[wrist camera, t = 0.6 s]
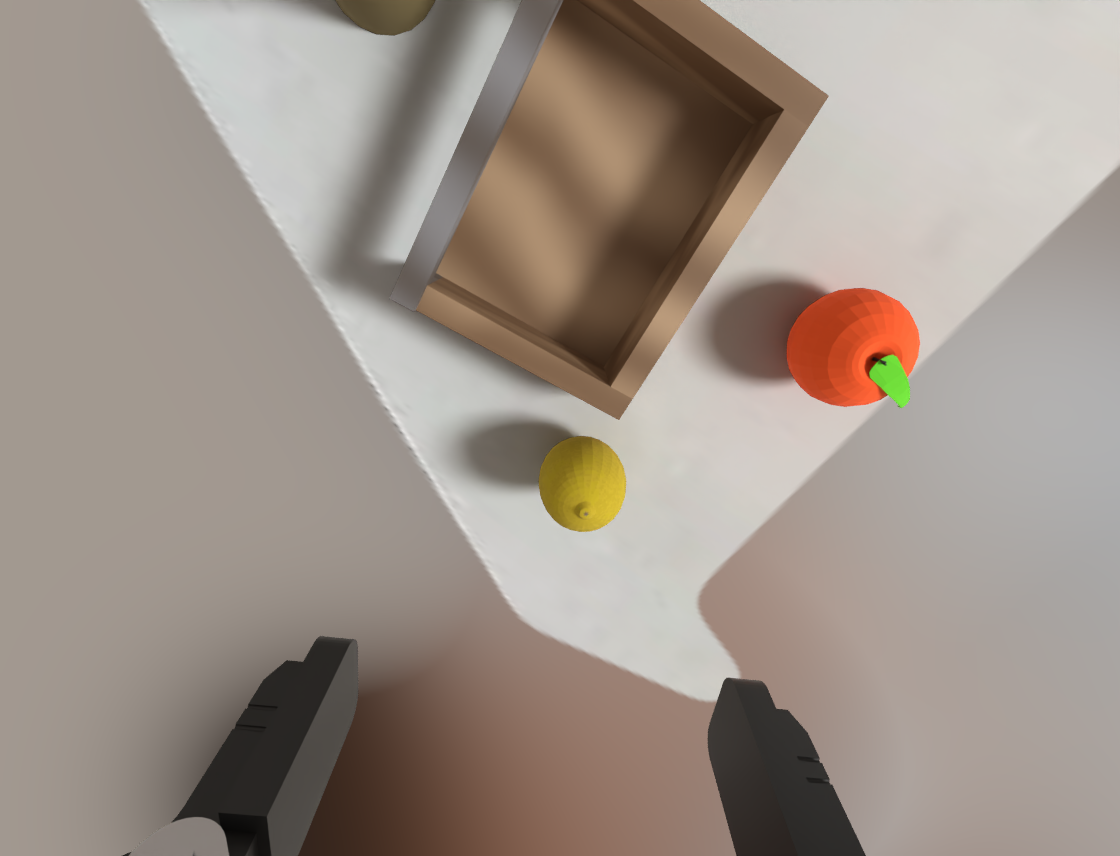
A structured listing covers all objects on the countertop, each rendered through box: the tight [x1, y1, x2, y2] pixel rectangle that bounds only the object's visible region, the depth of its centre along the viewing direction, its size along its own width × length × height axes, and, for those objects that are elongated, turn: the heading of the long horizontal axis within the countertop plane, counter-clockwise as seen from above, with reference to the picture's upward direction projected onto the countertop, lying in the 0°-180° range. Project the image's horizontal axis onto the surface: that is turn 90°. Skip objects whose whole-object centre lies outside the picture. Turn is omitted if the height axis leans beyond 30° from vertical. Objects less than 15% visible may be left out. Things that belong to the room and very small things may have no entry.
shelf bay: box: [389, 0, 828, 420], centre depth 29 cm, size 19×14×6 cm
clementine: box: [787, 288, 920, 408], centre depth 32 cm, size 8×7×7 cm
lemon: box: [539, 436, 626, 532], centre depth 34 cm, size 6×6×8 cm
